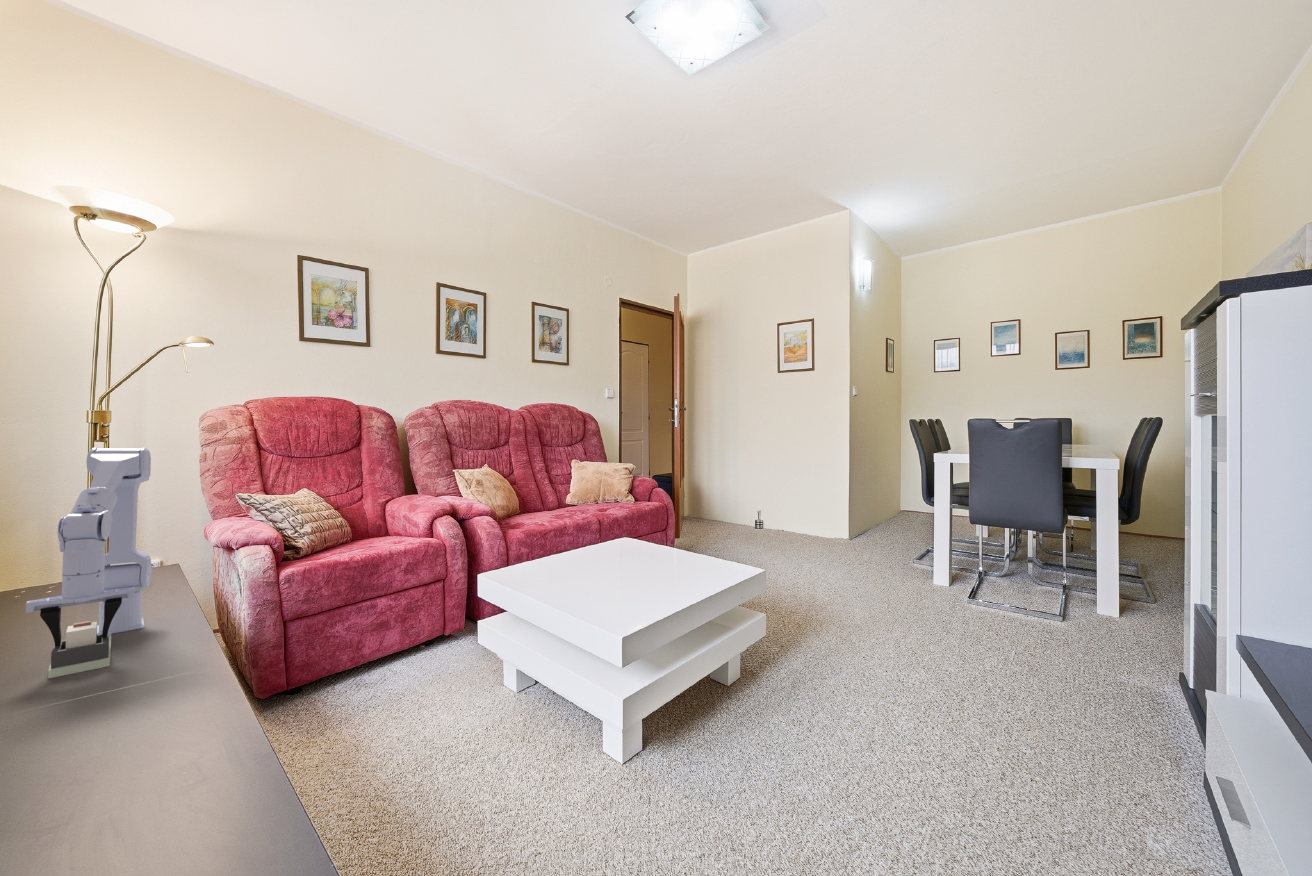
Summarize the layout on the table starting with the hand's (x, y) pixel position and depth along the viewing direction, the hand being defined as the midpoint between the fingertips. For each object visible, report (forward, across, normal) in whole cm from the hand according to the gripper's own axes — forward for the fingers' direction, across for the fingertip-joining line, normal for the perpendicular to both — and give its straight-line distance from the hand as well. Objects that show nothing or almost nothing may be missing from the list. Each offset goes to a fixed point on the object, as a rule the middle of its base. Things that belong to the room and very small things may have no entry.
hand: (81, 640), depth 104 cm
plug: (+3, 0, 0) cm, 3 cm away
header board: (+5, 0, +5) cm, 7 cm away
